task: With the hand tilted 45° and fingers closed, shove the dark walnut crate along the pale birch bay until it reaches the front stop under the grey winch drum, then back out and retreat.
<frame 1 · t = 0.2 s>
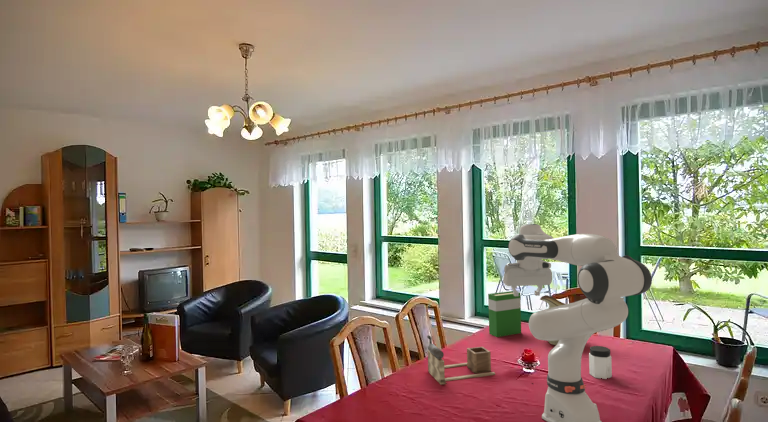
hand: (526, 295, 184), 39 cm above the table, tool pointing down, fingers open, 8 cm apart
green cereal box: (505, 333, 266), on the table
pitcher: (561, 343, 246), on the table
crate: (478, 359, 206), point 6 cm above the table, slide at 0.0 cm
jar: (600, 375, 198), on the table
bay: (461, 374, 204), on the table
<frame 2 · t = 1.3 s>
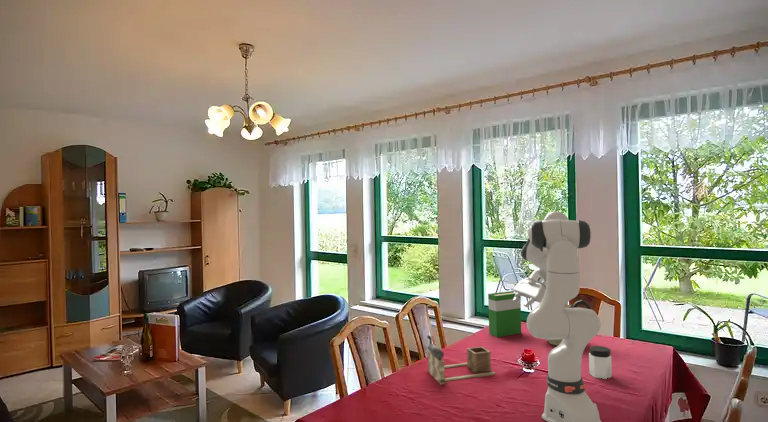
hand: (519, 303, 207), 31 cm above the table, tool tilted 45°, fingers open, 8 cm apart
nothing on the table moved.
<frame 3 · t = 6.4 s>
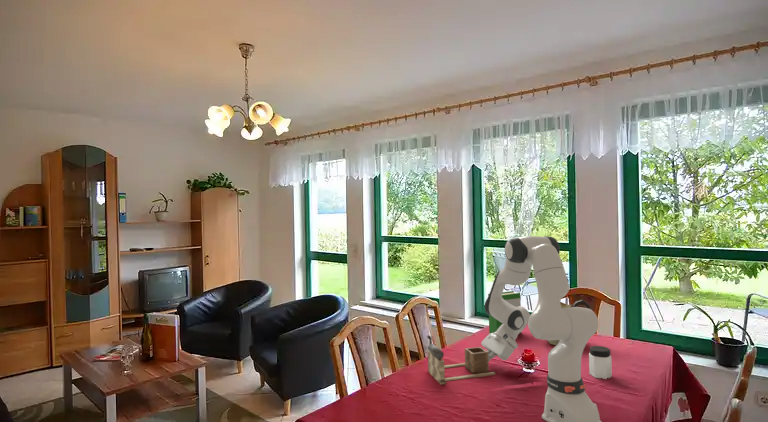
hand: (485, 359, 207), 5 cm above the table, tool tilted 45°, fingers closed, pressing on crate
crate: (476, 360, 206), point 6 cm above the table, slide at 1.1 cm, touching gripper
everything else where it was.
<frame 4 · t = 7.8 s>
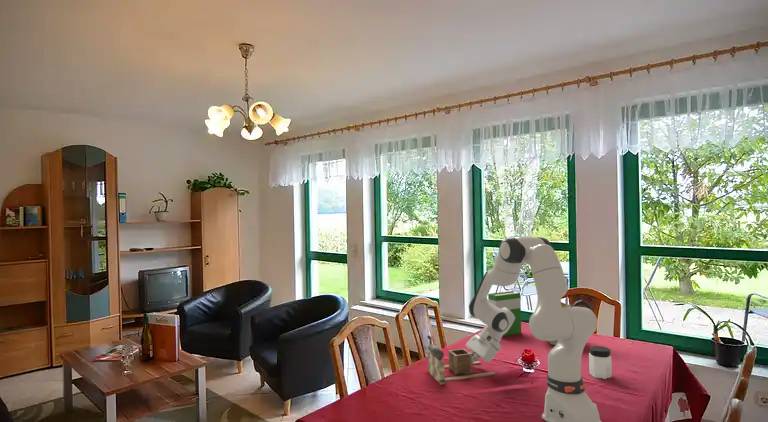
hand: (469, 361, 205), 5 cm above the table, tool tilted 45°, fingers closed, pressing on crate
crate: (460, 361, 204), point 6 cm above the table, slide at 9.2 cm, touching gripper
everything else where it was.
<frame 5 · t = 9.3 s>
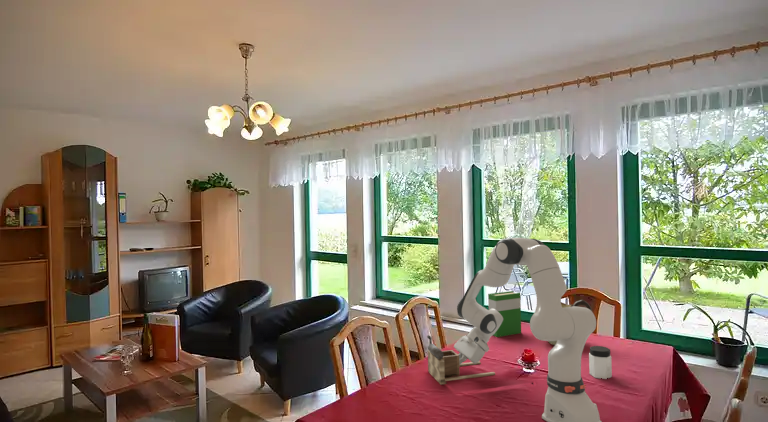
hand: (457, 363, 203), 5 cm above the table, tool tilted 45°, fingers closed, pressing on crate
crate: (447, 363, 202), point 6 cm above the table, slide at 15.4 cm, touching gripper
everything else where it was.
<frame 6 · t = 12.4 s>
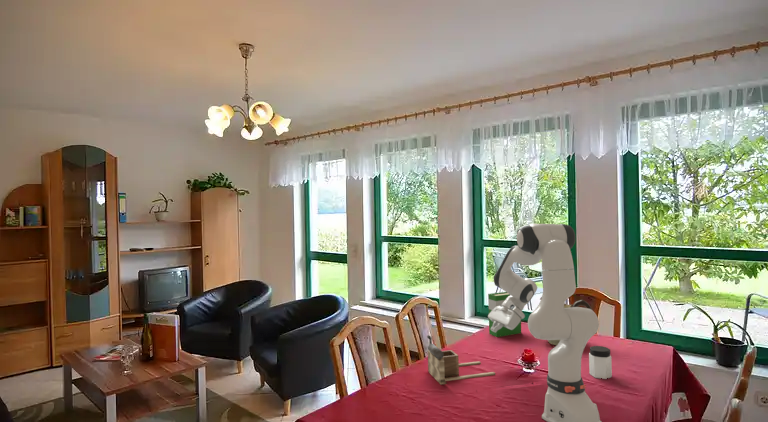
hand: (492, 331, 207), 18 cm above the table, tool tilted 45°, fingers closed
crate: (446, 363, 202), point 6 cm above the table, slide at 15.7 cm
everything else where it was.
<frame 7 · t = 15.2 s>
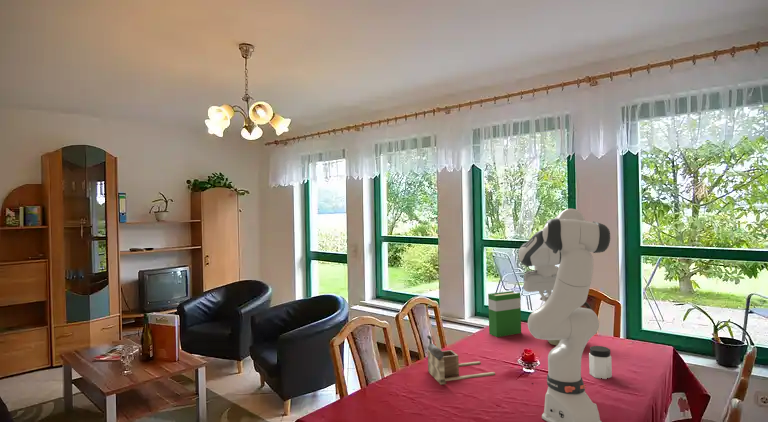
hand: (545, 300, 203), 33 cm above the table, tool pointing down, fingers closed
nothing on the table moved.
at the end: crate slide at 15.7 cm; crate inside the target area (1.2 cm from its centre), point 5.8 cm above the table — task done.
